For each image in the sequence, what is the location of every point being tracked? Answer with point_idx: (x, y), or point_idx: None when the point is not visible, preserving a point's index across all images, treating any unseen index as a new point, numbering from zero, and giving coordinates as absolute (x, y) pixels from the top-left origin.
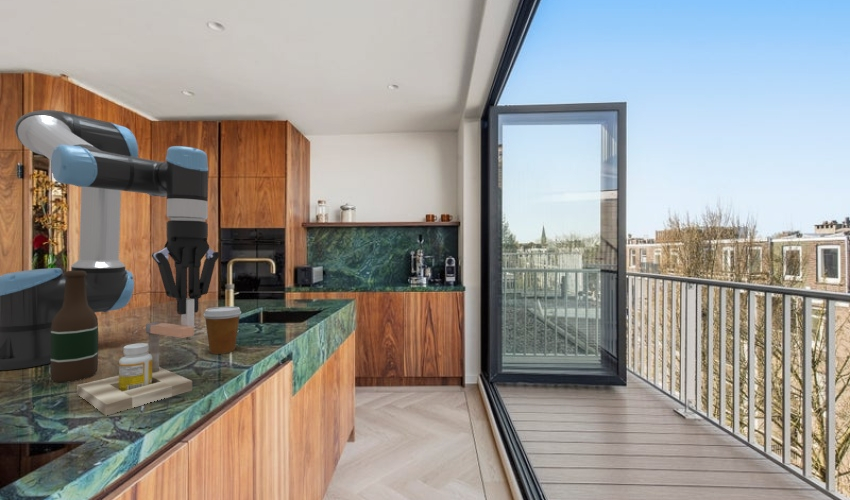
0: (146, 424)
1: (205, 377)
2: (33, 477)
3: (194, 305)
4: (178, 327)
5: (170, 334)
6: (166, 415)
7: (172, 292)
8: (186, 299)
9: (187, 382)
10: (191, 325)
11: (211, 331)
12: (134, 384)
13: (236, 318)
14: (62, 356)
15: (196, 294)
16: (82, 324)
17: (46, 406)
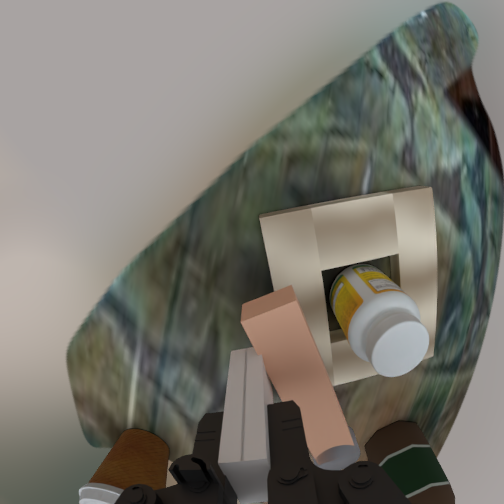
0: (371, 81)
1: (208, 296)
2: (473, 43)
3: (217, 441)
4: (299, 353)
5: (319, 353)
6: (336, 95)
7: (384, 487)
8: (267, 469)
9: (272, 215)
10: (243, 357)
11: (156, 479)
12: (376, 272)
13: (92, 480)
14: (429, 451)
15: (199, 488)
16: (426, 500)
17: (461, 315)
